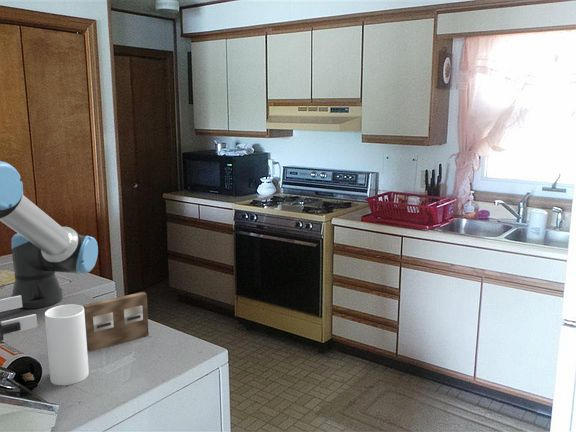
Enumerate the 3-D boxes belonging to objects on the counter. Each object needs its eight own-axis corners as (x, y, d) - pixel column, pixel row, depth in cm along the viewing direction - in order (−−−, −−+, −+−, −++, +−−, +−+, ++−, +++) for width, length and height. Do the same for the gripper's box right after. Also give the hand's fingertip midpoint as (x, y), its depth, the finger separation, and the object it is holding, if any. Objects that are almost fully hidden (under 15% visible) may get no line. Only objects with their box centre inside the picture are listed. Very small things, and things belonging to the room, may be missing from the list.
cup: (75, 387, 115) (69, 319, 112) (42, 383, 116) (36, 316, 113) (95, 369, 123) (91, 305, 120) (64, 366, 124) (59, 303, 121)
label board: (89, 352, 132) (86, 307, 129) (79, 340, 138) (76, 298, 136) (149, 335, 141) (147, 294, 139) (137, 326, 148) (134, 285, 145)
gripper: (-92, 332, 111) (17, 308, 124) (-82, 380, 92) (45, 346, 105) (-97, 299, 109) (14, 279, 122) (-89, 341, 90) (41, 312, 103)
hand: (29, 310), depth 114 cm, fingers open, 13 cm apart
